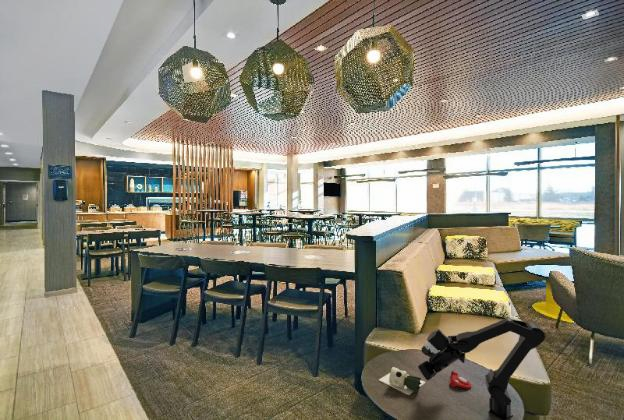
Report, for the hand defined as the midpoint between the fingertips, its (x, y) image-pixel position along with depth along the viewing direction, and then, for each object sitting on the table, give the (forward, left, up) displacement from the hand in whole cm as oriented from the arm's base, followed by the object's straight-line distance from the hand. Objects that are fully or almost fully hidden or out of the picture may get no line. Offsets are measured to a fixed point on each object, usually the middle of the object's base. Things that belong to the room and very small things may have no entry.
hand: (422, 373), depth 143 cm
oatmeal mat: (+10, +1, -8) cm, 13 cm away
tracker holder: (-5, -19, -9) cm, 22 cm away
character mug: (0, +2, -5) cm, 5 cm away
